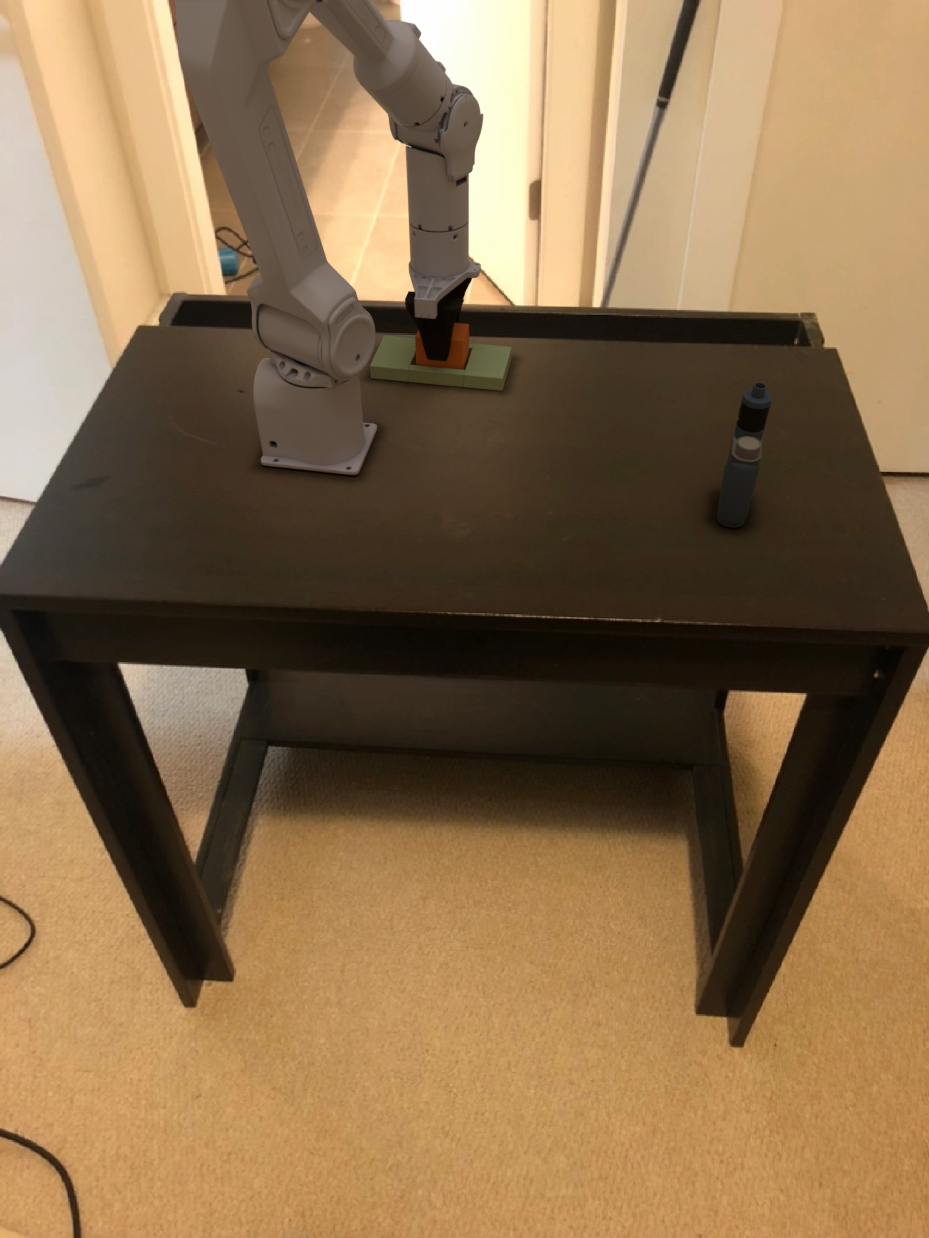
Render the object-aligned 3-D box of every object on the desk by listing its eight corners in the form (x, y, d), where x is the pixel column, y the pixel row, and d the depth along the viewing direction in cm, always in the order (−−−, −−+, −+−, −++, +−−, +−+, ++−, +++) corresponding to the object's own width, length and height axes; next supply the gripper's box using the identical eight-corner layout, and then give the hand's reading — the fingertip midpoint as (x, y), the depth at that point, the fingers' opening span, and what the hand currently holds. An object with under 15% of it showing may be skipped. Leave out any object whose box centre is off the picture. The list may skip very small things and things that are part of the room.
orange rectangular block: (416, 367, 103) (414, 337, 100) (423, 349, 105) (422, 319, 103) (463, 371, 102) (463, 341, 100) (469, 353, 105) (469, 323, 102)
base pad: (370, 378, 103) (369, 365, 102) (384, 347, 108) (383, 335, 106) (502, 391, 101) (502, 378, 100) (511, 359, 106) (511, 346, 105)
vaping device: (747, 495, 89) (776, 379, 81) (744, 532, 86) (774, 414, 77) (718, 491, 90) (744, 375, 81) (714, 527, 86) (741, 410, 77)
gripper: (466, 257, 88) (467, 389, 97) (492, 192, 98) (490, 318, 107) (389, 251, 88) (397, 382, 98) (422, 187, 98) (426, 312, 108)
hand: (441, 348), depth 103 cm, fingers closed on orange rectangular block, 3 cm apart
